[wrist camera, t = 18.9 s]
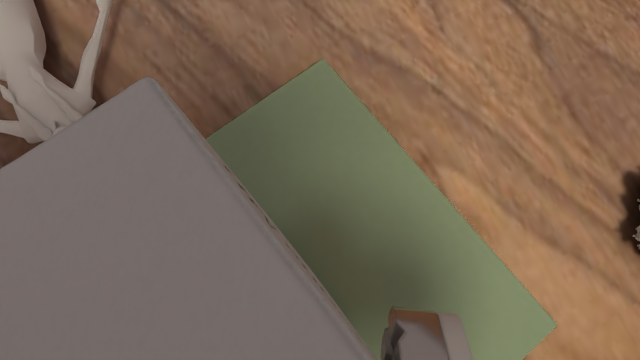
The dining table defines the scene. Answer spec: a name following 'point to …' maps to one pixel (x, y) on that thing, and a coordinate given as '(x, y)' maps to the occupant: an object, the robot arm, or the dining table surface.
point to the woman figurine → (42, 74)
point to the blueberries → (638, 230)
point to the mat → (373, 218)
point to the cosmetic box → (151, 250)
